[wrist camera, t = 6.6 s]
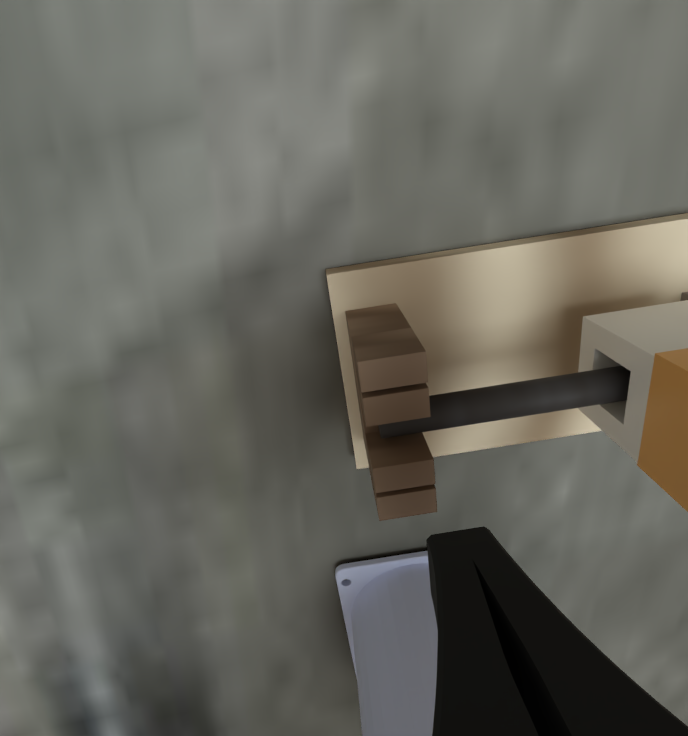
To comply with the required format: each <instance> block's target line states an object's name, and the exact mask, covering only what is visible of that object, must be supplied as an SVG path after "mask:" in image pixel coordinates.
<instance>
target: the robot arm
mask: <svg viewBox="0 0 688 736" xmlns="http://www.w3.org/2000/svg"><path fill="white" fill-rule="evenodd" d="M427 550H428V551H422V552H415V553H409V554H403V555H396V556H390V557H384V558H377V559H371V560H365V561H358V562H352V563H346V564H341V565H339V566H338V567H337V568H336V569H335V577H336V582H337V586H338V591H339V596H340V601H341V606H342V611H343V616H344V620H345V625H346V630H347V635H348V640H349V645H350V649H351V654H352V659H353V664H354V669H355V674H356V677H357V684H358V695H359V706H360V717H361V728H362V736H688V726H686V725H685V724H684V723H683V722H682V721H680V720H679V719H678V718H677V717H676V716H674V715H673V714H672V713H671V712H670V711H668V710H667V709H666V708H665V707H663V706H662V705H661V704H660V703H659V702H657V701H656V700H655V699H654V698H653V697H652V696H650V695H649V694H648V693H647V692H646V691H645V690H644V689H642V688H641V687H640V686H639V685H638V684H637V683H635V682H634V681H633V680H632V679H631V678H630V677H629V676H627V675H626V674H625V673H624V672H623V671H622V670H621V669H620V668H619V667H617V666H616V665H615V664H614V663H613V662H612V661H611V660H610V659H609V658H608V657H607V656H606V655H605V654H603V653H602V652H601V651H600V650H599V649H598V648H597V647H596V646H595V645H594V644H593V643H592V642H591V641H590V640H589V639H588V638H587V637H586V636H585V635H584V634H583V633H582V632H581V631H579V630H578V629H577V628H576V627H575V626H574V624H573V623H572V622H571V621H570V620H569V619H568V618H567V617H566V616H565V615H564V614H563V613H562V612H561V611H560V610H559V609H558V608H557V607H556V606H555V605H554V604H553V603H552V602H551V601H550V600H549V599H548V598H547V597H546V596H545V594H544V593H543V592H542V591H541V590H540V589H539V588H538V587H537V586H536V585H535V584H534V583H533V581H532V580H531V579H530V578H529V577H528V576H527V575H526V574H525V573H524V571H523V570H522V569H521V568H520V567H519V566H518V565H517V563H516V562H515V561H514V560H513V559H512V558H511V556H510V555H509V554H508V553H507V552H506V550H505V549H504V548H503V547H502V546H501V544H500V543H499V542H498V541H497V539H496V538H495V537H494V536H493V534H492V533H491V532H490V530H489V529H487V528H486V527H478V528H472V529H466V530H459V531H453V532H447V533H440V534H434V535H431V536H430V537H429V538H428V539H427ZM345 579H348V580H345Z"/></svg>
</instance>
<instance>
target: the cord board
mask: <svg viewBox="0 0 688 736" xmlns="http://www.w3.org/2000/svg"><path fill="white" fill-rule="evenodd" d="M326 276H327V282H328V288H329V295H330V301H331V308H332V314H333V320H334V327H335V333H336V339H337V346H338V352H339V358H340V365H341V371H342V378H343V384H344V390H345V397H346V403H347V409H348V416H349V422H350V428H351V435H352V441H353V448H354V454H355V460H356V467H357V469H361V468H368V467H369V469H370V475H371V480H372V485H373V490H374V495H375V500H376V505H377V510H378V515H379V521H382V520H388V519H395V518H401V517H407V516H414V515H420V514H426V513H433V512H437V501H436V488H435V486H434V484H435V472H434V459H433V457H438V456H444V455H450V454H457V453H463V452H469V451H476V450H482V449H488V448H495V447H501V446H507V445H514V444H520V443H527V442H533V441H539V440H546V439H552V438H558V437H565V436H571V435H577V434H584V433H590V432H596V431H602V430H601V429H600V428H599V427H598V426H597V425H596V424H594V423H593V422H592V421H591V420H590V419H589V418H588V417H587V416H586V415H585V414H584V413H582V412H581V411H580V410H579V409H578V408H580V407H587V406H593V405H599V404H606V403H612V402H618V401H625V400H627V395H628V388H629V381H630V373H631V371H630V370H628V369H626V368H625V367H623V366H616V367H609V368H603V369H597V370H590V371H584V372H578V369H579V357H580V345H581V334H582V322H583V316H589V315H595V314H602V313H608V312H615V311H621V310H627V309H634V308H640V307H647V306H653V305H659V304H666V303H672V302H679V301H685V300H688V213H684V214H678V215H671V216H665V217H659V218H652V219H646V220H639V221H633V222H626V223H620V224H613V225H607V226H601V227H594V228H588V229H581V230H575V231H568V232H562V233H556V234H549V235H543V236H536V237H530V238H523V239H517V240H510V241H504V242H498V243H491V244H485V245H478V246H472V247H465V248H459V249H452V250H446V251H440V252H433V253H427V254H420V255H414V256H407V257H401V258H394V259H388V260H382V261H375V262H369V263H362V264H356V265H349V266H343V267H337V268H330V269H326Z"/></svg>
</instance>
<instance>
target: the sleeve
mask: <svg viewBox="0 0 688 736" xmlns="http://www.w3.org/2000/svg"><path fill="white" fill-rule="evenodd" d="M616 366H623V367H625V368H626V369H628V370H630V371H631V373H630V381H629V388H628V395H627V400H625V401H618V402H612V403H606V404H599V405H593V406H587V407H580V408H578V409H579V410H580V411H581V412H582V413H584V414H585V415H586V416H587V417H588V418H589V419H590V420H591V421H592V422H593V423H594V424H596V425H597V426H598V427H599V428H600V429H601V430H602V431H603V432H604V433H605V434H607V435H608V436H609V437H610V438H611V439H612V440H613V441H614V442H615V443H616V444H618V445H619V446H620V447H621V448H622V449H623V450H624V451H625V452H626V453H627V454H628V455H630V456H631V457H632V458H633V459H634V460H635V461H636V462H637V463H638V464H637V466H639V467H640V468H641V469H642V470H643V471H644V472H645V473H646V474H647V475H648V476H649V477H650V478H652V479H653V480H654V481H655V482H656V483H657V484H658V485H659V486H660V487H661V488H662V489H664V490H665V491H666V492H667V493H668V494H669V495H670V496H671V497H672V498H673V499H674V500H675V501H677V502H678V503H679V504H680V505H681V506H682V507H683V508H684V509H685V510H686V511H687V512H688V300H685V301H679V302H672V303H666V304H659V305H653V306H647V307H640V308H634V309H627V310H621V311H615V312H608V313H602V314H595V315H589V316H583V322H582V334H581V345H580V357H579V369H578V372H584V371H590V370H597V369H603V368H609V367H616Z"/></svg>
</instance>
